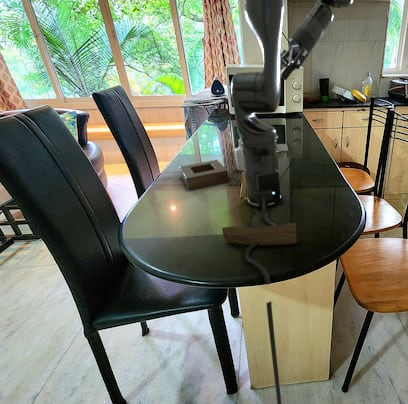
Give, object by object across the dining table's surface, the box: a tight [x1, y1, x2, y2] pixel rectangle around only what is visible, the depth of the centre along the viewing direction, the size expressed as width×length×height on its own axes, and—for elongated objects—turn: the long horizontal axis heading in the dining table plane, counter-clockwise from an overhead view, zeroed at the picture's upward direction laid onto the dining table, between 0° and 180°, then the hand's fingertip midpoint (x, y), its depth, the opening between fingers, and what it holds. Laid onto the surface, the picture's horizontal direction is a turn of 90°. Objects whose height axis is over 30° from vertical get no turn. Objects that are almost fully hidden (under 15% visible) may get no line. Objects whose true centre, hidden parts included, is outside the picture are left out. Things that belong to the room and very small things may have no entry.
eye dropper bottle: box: [234, 139, 244, 172], centre depth 102 cm, size 4×6×12 cm
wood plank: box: [221, 222, 298, 246], centre depth 60 cm, size 15×2×5 cm, turn 91°
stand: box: [179, 159, 230, 191], centre depth 96 cm, size 13×13×4 cm
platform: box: [276, 135, 290, 153], centre depth 126 cm, size 12×18×7 cm, turn 96°
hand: (277, 77), depth 91 cm, fingers open, 8 cm apart
